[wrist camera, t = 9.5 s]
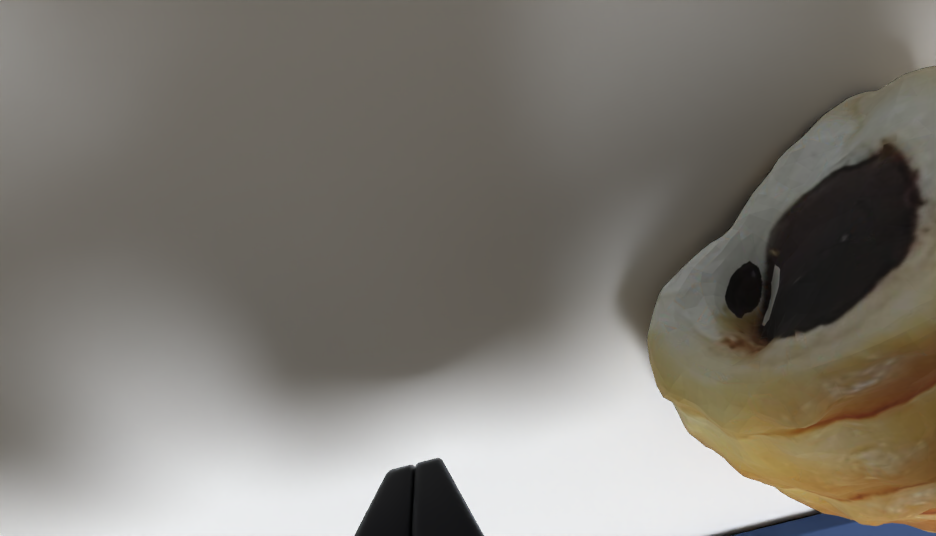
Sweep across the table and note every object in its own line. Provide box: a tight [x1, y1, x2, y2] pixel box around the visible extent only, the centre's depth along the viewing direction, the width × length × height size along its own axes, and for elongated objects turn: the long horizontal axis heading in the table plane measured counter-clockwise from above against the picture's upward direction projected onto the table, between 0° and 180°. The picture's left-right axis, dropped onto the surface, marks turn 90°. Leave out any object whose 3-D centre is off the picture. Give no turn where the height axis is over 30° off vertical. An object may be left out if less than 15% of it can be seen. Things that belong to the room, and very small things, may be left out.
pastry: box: [647, 66, 936, 533], centre depth 9 cm, size 9×7×4 cm
